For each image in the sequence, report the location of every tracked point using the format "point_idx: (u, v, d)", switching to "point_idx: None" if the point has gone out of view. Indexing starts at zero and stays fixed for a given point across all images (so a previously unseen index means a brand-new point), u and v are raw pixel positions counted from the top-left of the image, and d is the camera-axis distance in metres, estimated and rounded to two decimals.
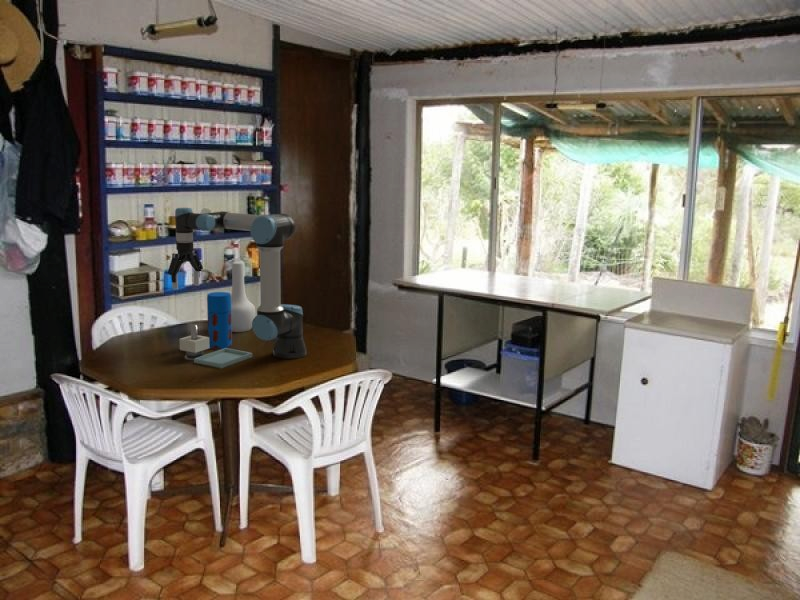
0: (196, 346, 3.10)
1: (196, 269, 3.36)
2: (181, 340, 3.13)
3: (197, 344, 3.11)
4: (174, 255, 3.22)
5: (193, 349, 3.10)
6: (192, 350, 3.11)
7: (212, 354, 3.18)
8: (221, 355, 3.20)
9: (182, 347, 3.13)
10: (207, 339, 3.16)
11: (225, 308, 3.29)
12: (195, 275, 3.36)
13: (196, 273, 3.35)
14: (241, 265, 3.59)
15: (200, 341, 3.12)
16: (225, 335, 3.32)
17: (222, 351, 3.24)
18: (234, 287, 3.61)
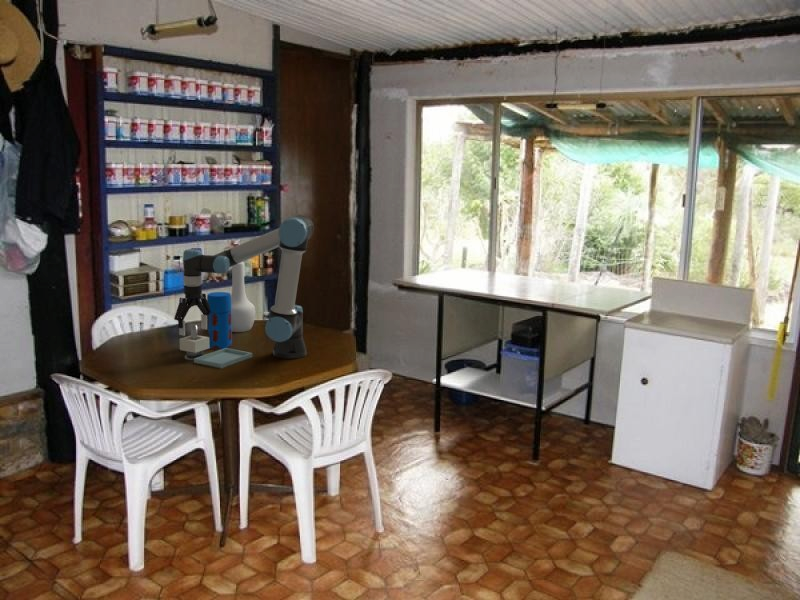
0: (196, 346, 3.10)
1: (204, 312, 3.19)
2: (181, 340, 3.13)
3: (197, 344, 3.11)
4: (181, 300, 3.05)
5: (193, 349, 3.10)
6: (192, 350, 3.11)
7: (212, 354, 3.18)
8: (221, 355, 3.20)
9: (182, 347, 3.13)
10: (207, 339, 3.16)
11: (225, 308, 3.29)
12: (203, 319, 3.19)
13: (204, 317, 3.19)
14: (241, 265, 3.59)
15: (200, 341, 3.12)
16: (225, 335, 3.32)
17: (222, 351, 3.24)
18: (234, 287, 3.61)
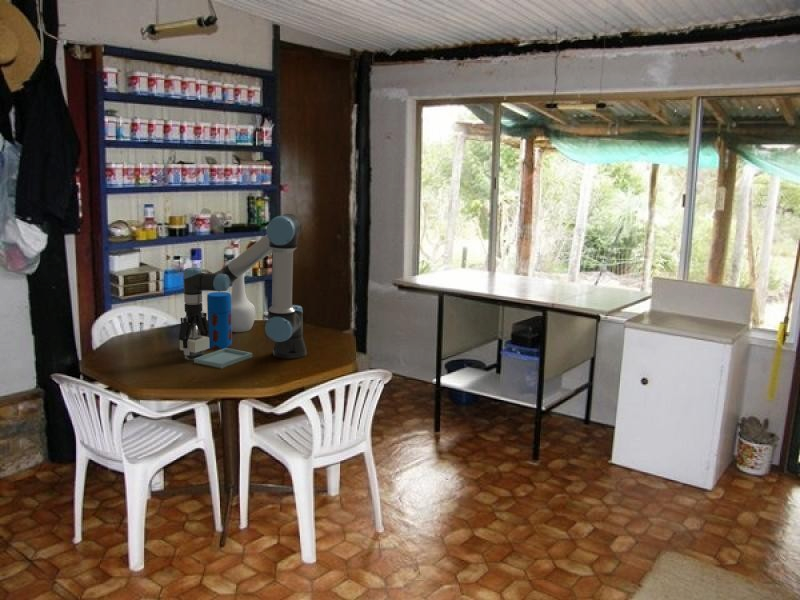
0: (196, 346, 3.10)
1: (202, 333, 3.20)
2: (181, 340, 3.13)
3: (197, 344, 3.11)
4: (182, 320, 3.07)
5: (193, 349, 3.10)
6: (192, 350, 3.11)
7: (212, 354, 3.18)
8: (221, 355, 3.20)
9: (182, 347, 3.13)
10: (207, 339, 3.16)
11: (225, 308, 3.29)
12: None
13: None
14: None
15: (200, 341, 3.12)
16: (225, 335, 3.32)
17: (222, 351, 3.24)
18: (234, 287, 3.61)
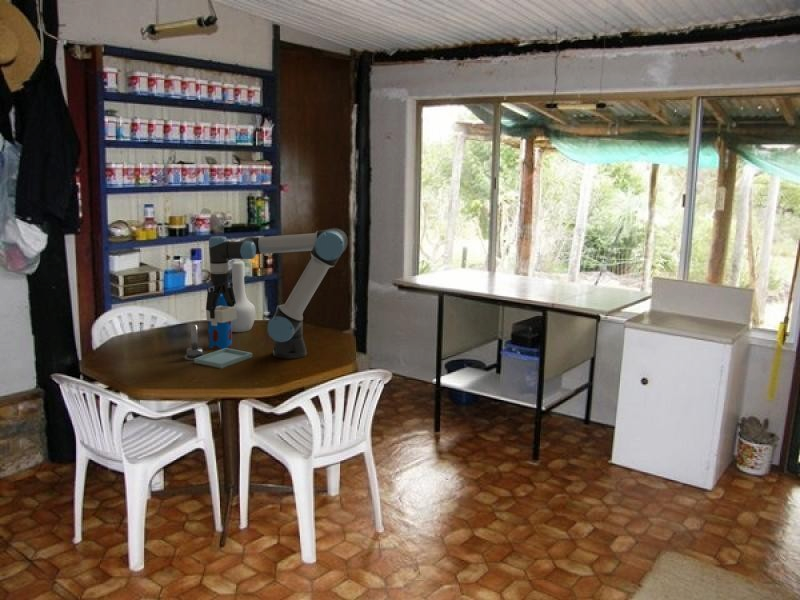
0: (223, 316, 3.05)
1: (229, 304, 3.14)
2: (208, 311, 3.07)
3: (224, 314, 3.05)
4: (209, 289, 3.02)
5: (220, 319, 3.05)
6: (219, 320, 3.05)
7: (212, 354, 3.18)
8: (221, 355, 3.20)
9: (208, 318, 3.08)
10: (234, 309, 3.11)
11: None
12: None
13: None
14: (241, 265, 3.59)
15: (227, 311, 3.07)
16: (225, 335, 3.32)
17: (222, 351, 3.24)
18: (234, 287, 3.61)
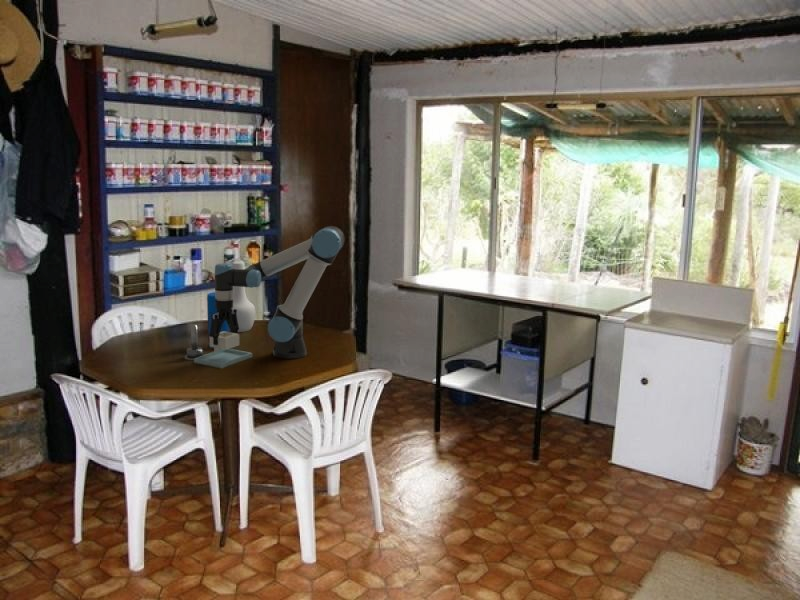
0: (226, 342, 3.07)
1: (232, 330, 3.16)
2: (211, 337, 3.09)
3: (227, 341, 3.07)
4: (213, 316, 3.04)
5: (223, 346, 3.07)
6: (222, 347, 3.08)
7: (212, 354, 3.18)
8: (221, 355, 3.20)
9: (212, 343, 3.10)
10: (237, 336, 3.13)
11: None
12: None
13: None
14: (241, 265, 3.59)
15: (230, 338, 3.09)
16: None
17: (222, 351, 3.24)
18: (234, 287, 3.61)
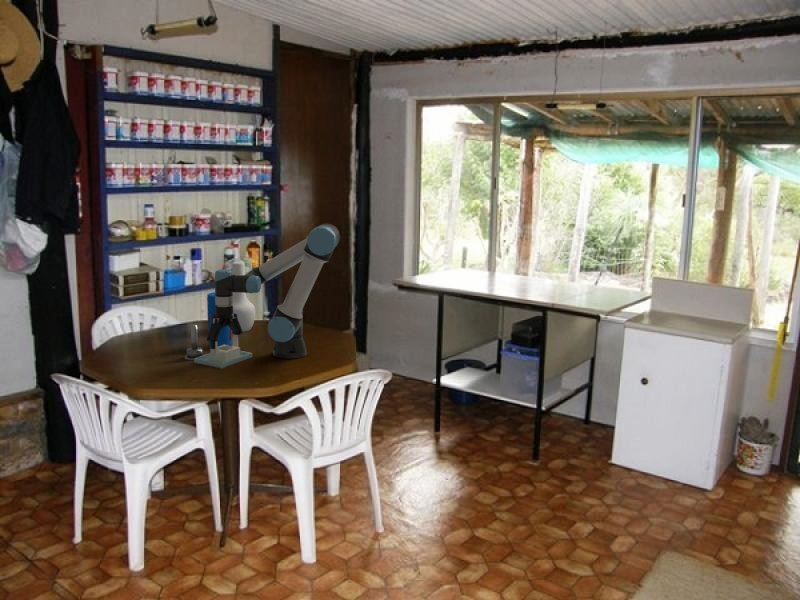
0: (227, 356, 3.08)
1: (235, 332, 3.18)
2: None
3: (228, 354, 3.09)
4: (214, 320, 3.04)
5: (224, 359, 3.08)
6: (223, 361, 3.09)
7: None
8: None
9: (212, 357, 3.11)
10: (238, 349, 3.14)
11: None
12: (234, 339, 3.18)
13: (235, 337, 3.18)
14: (241, 265, 3.59)
15: (231, 351, 3.10)
16: (225, 335, 3.32)
17: None
18: None
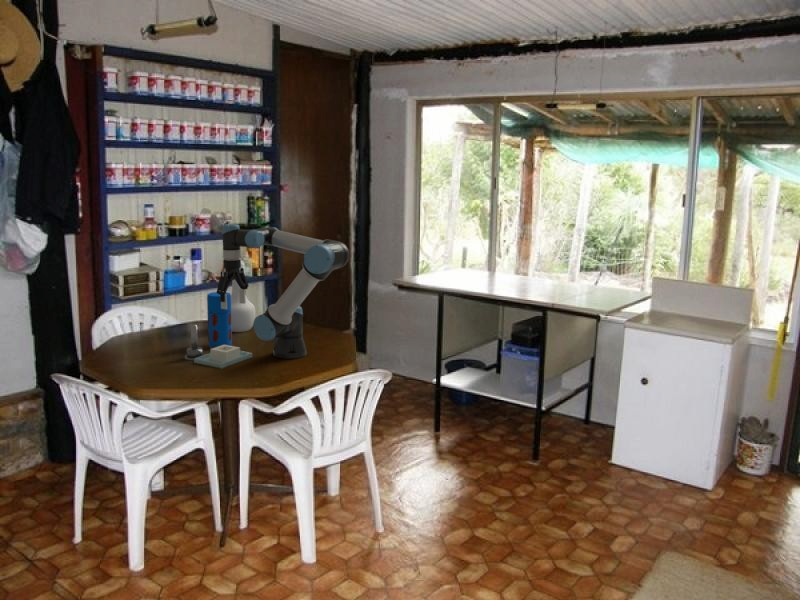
0: (227, 356, 3.08)
1: (242, 287, 3.24)
2: (212, 350, 3.11)
3: (228, 354, 3.09)
4: (223, 273, 3.10)
5: (224, 359, 3.08)
6: (223, 361, 3.09)
7: None
8: None
9: (212, 357, 3.11)
10: (238, 349, 3.14)
11: None
12: (241, 293, 3.24)
13: (242, 291, 3.23)
14: (241, 265, 3.59)
15: (231, 351, 3.10)
16: (225, 335, 3.32)
17: None
18: (234, 287, 3.61)
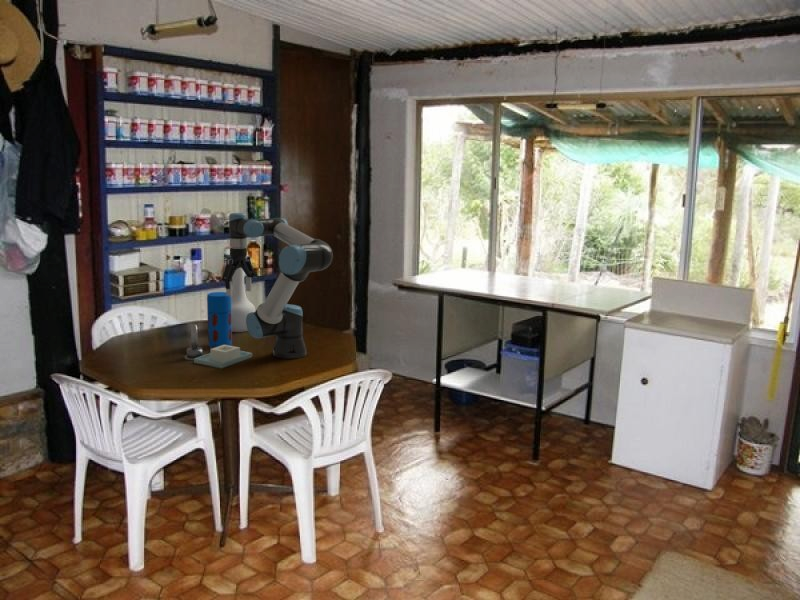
0: (227, 356, 3.08)
1: (248, 275, 3.31)
2: (212, 350, 3.11)
3: (228, 354, 3.09)
4: (228, 261, 3.17)
5: (224, 359, 3.08)
6: (223, 361, 3.09)
7: None
8: None
9: (212, 357, 3.11)
10: (238, 349, 3.14)
11: (225, 308, 3.29)
12: (247, 281, 3.31)
13: (248, 279, 3.30)
14: None
15: (231, 351, 3.10)
16: (225, 335, 3.32)
17: None
18: (234, 287, 3.61)
